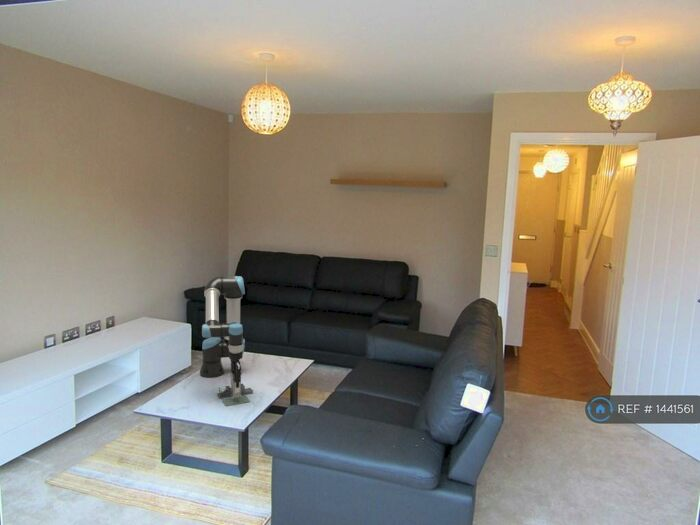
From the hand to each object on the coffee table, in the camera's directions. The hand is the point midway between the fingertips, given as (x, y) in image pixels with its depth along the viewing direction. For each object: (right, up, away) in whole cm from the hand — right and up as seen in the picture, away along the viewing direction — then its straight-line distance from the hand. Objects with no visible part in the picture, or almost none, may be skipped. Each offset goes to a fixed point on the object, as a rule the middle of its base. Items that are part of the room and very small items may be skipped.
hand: (235, 390), depth 280 cm
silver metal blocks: (-3, -5, +10) cm, 11 cm away
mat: (0, -6, +1) cm, 6 cm away
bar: (0, -3, 0) cm, 3 cm away
